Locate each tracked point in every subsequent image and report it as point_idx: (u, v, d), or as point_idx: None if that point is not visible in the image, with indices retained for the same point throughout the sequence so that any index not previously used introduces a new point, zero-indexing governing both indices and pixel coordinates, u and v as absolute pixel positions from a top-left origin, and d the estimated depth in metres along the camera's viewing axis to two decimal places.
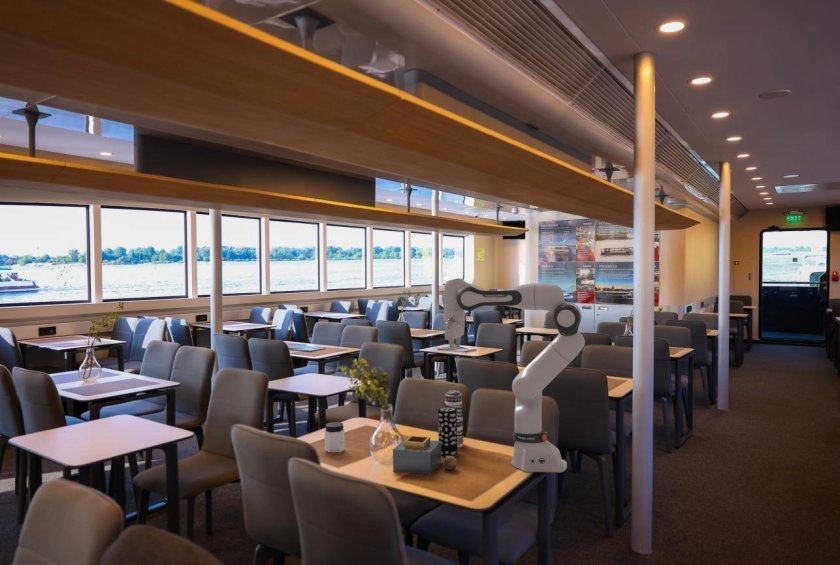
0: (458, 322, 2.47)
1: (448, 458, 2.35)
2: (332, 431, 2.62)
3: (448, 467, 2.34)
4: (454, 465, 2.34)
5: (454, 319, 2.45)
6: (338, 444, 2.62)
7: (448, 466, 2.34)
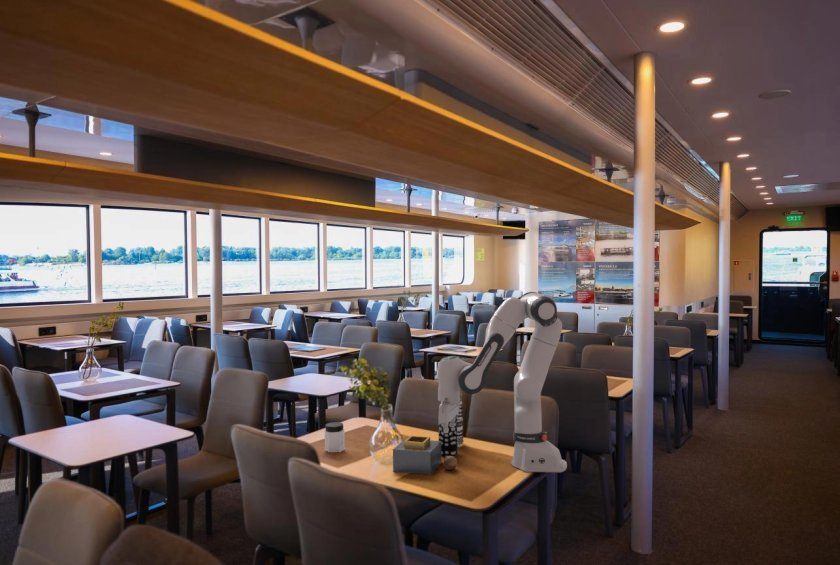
0: (453, 403, 2.34)
1: (448, 458, 2.35)
2: (332, 431, 2.62)
3: (448, 467, 2.34)
4: (454, 465, 2.34)
5: (448, 400, 2.32)
6: (338, 444, 2.62)
7: (448, 466, 2.34)
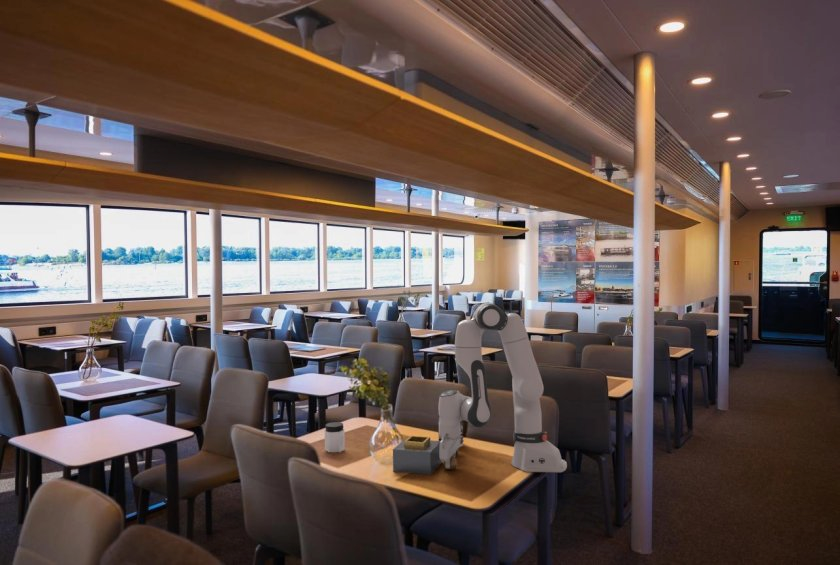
0: (453, 438, 2.34)
1: None
2: (332, 431, 2.62)
3: None
4: (454, 465, 2.34)
5: (449, 436, 2.32)
6: (338, 444, 2.62)
7: None
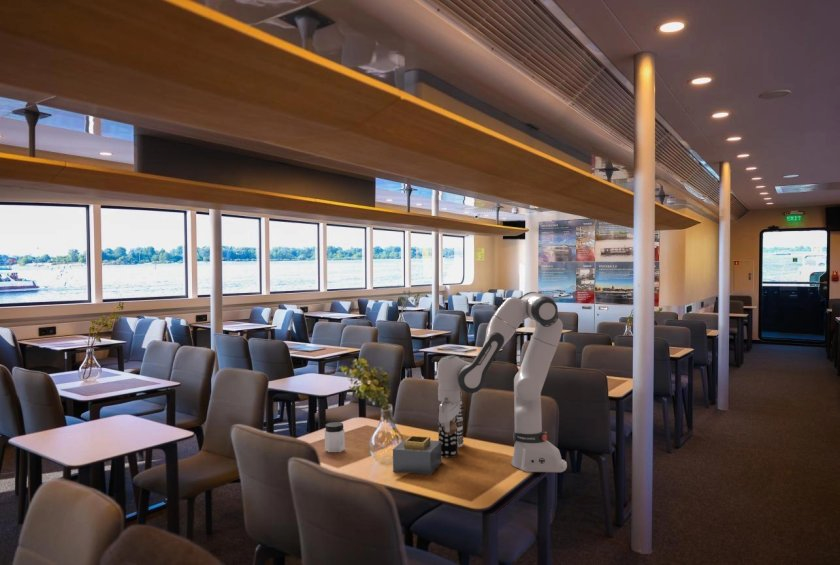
0: (453, 402, 2.34)
1: None
2: (332, 431, 2.62)
3: None
4: (454, 429, 2.34)
5: (449, 400, 2.32)
6: (338, 444, 2.62)
7: None
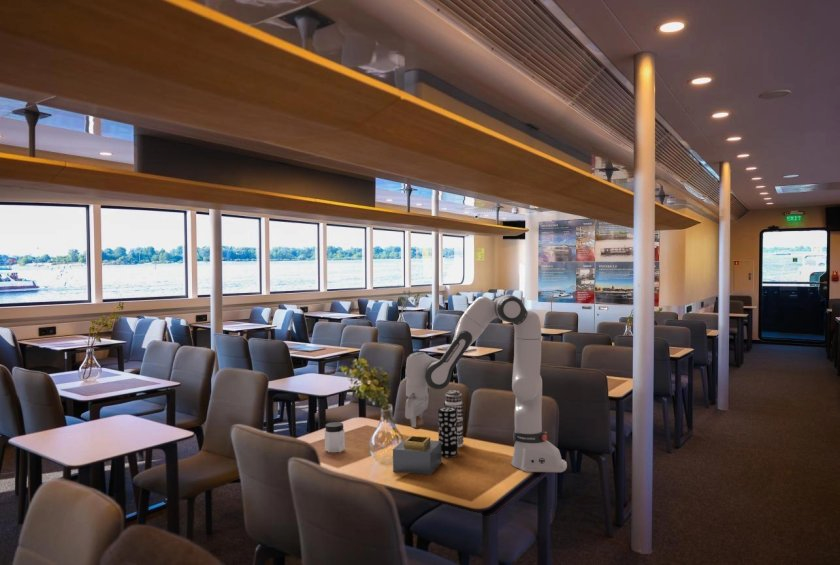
0: (420, 398, 2.38)
1: None
2: (332, 431, 2.62)
3: None
4: (420, 424, 2.38)
5: (416, 396, 2.36)
6: (338, 444, 2.62)
7: None
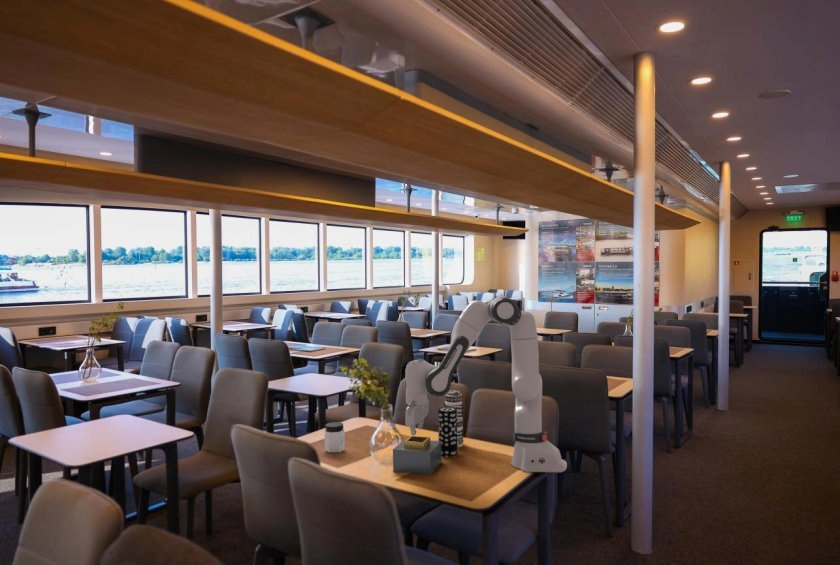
0: (420, 406, 2.38)
1: None
2: (332, 431, 2.62)
3: None
4: None
5: (415, 403, 2.36)
6: (338, 444, 2.62)
7: None
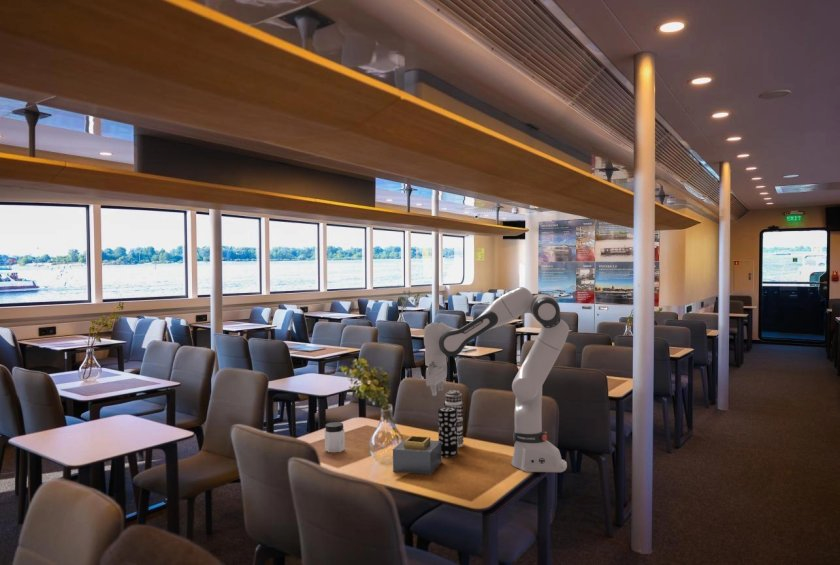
0: (439, 367, 2.42)
1: None
2: (332, 431, 2.62)
3: None
4: None
5: (435, 364, 2.40)
6: (338, 444, 2.62)
7: None
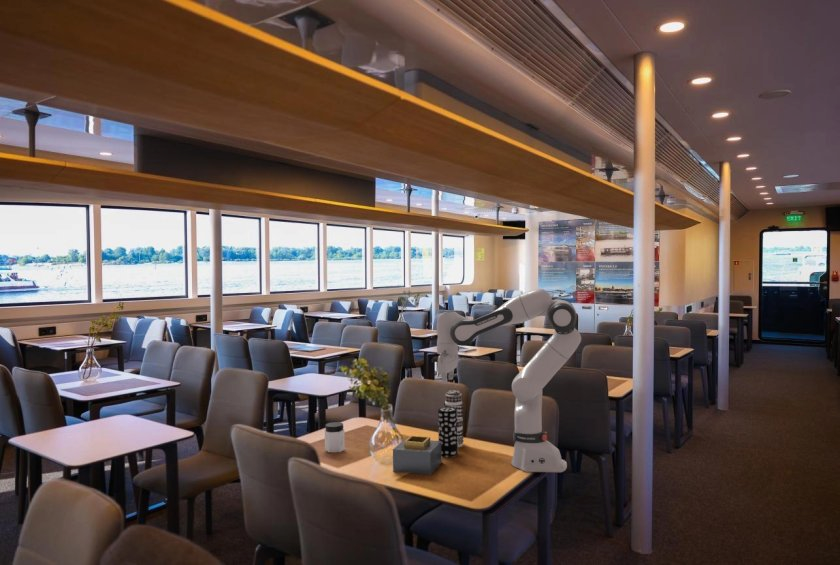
0: (451, 355, 2.44)
1: None
2: (332, 431, 2.62)
3: None
4: None
5: (447, 353, 2.42)
6: (338, 444, 2.62)
7: None
